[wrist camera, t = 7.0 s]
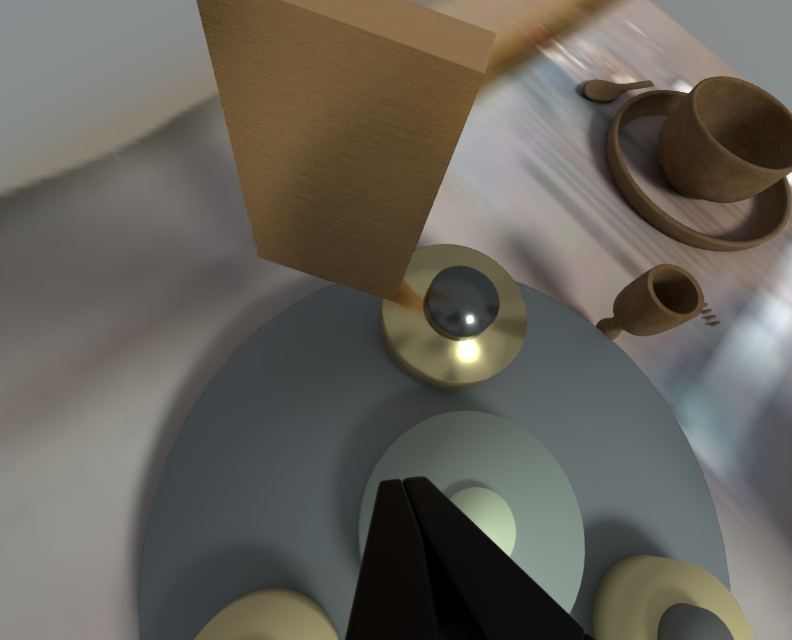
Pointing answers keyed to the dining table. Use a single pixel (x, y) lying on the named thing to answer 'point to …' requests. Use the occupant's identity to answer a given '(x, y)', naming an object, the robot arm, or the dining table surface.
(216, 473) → the plate
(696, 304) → the place setting
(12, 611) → the dining table surface
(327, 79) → the wooden slab
